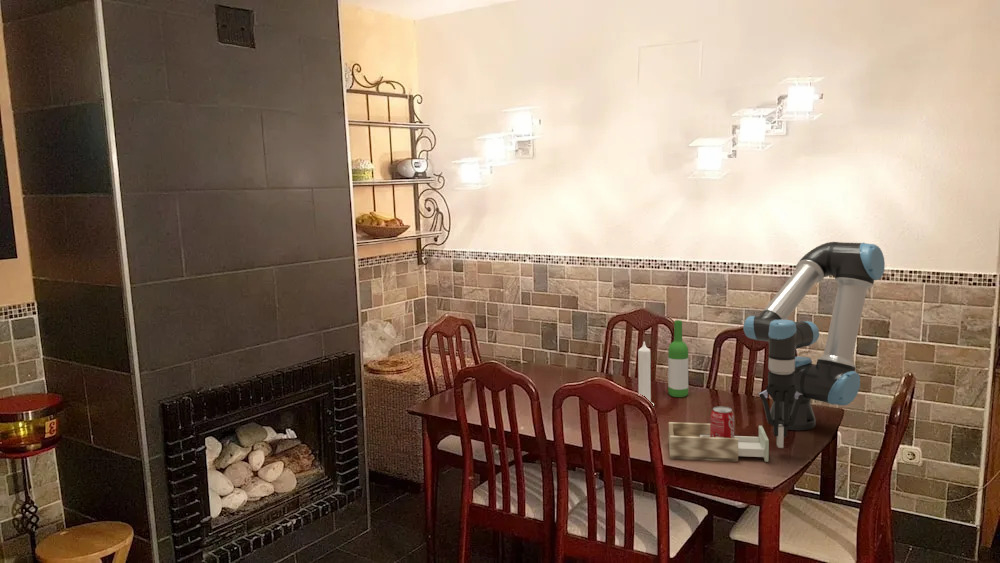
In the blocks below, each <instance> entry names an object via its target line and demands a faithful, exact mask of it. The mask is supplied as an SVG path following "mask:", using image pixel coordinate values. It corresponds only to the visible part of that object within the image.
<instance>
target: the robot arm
mask: <svg viewBox="0 0 1000 563" xmlns="http://www.w3.org/2000/svg"><path fill="white" fill-rule="evenodd" d="M884 256H885V255H884V254H883V251H882V249H881V248H880V247H879V246H878V245H877V244H873V243H865V242H843V241H842V242H839V241H830V242H825V243H823V244H820V245H817V246H816V247H815V248H812V249H811V250H809V251H808V252H807V253H806V254H804V256H802V258H800V259H799V261H798V262H797V264H796V265H795V270H794V272H793V273H792V274H791V276H790V277H789V278H788V279H787V281H785V283H784V284H783V285H782V287H781V288H780V289H779V290H778V292H777V293H776V294H775V295H774V296H773V297H772V299H771V300H770V301H769V303H768V304H767V305H766V306H765V308H764V309H763V310H762V311H761V313H759V315H750V316H747V317H746V319H745V320H744V322H743V332H744V335H745V336H746V337H747V338H748V339H751V340H755V341H761V342H768V368H767V369H768V372H767V374H768V375H767V386H766V387H765V390H763V391H759V392H758V396H759V397H760V399H761V402H762V405H763V409H764V413H765V418H766V421H767V423H768V424H769V425H771V426H773V428H772V432H773V436H774V437H776V447H777V448H779V449H784V438H785V437H788V431H789V430H790V431H808V430H813V429H814V428H815V427H816V423H817V422H816V417H815V413H814V410H813V407H812V404H811V400H814V401H817V402H823V403H826V404H830V405H837V406H843V407H844V406H848V405H849V404H851V403H852V402H854V400H855V399H856V398H857V395H858V393H859V391H860V387H861V376H860V374H859V373H858V372H856V368H857V366H856V365H855V364H854V362H853V356H854V352H855V347H856V344H857V343H856V342H857V338H858V333H859V328H860V325H861V324H860V323H861V319H862V315H863V308H864V304H865V300H866V295H867V291H868V290H869V289H871V288H873V287H874V283H875V281H877V280H881V279H882V277H883V275H884V272H885V267H886V266H885V265H886V264H885V257H884ZM831 276H833V277H834V281H835V282H836V283H837V285H838V286H837V291H836V294H835V295H836V296H835V299H834V304H833V309H832V313H831V318H830V323H829V328H828V332H827V337H826V342H825V345H824V346H825V347H824V352H823V355H821V356H819V357H818V358H817V361H816V364H814V363H813V361H812V360H813V359H812V358H810V357H809V356H808V357H807V356H796V349H801V348H805V347H809V346H811V345H813V344H815V343H816V342H818V340H819V337H820V330H819V328H818V326H817V325H816V324H815V323H814V322H813V321H810V320H809V321H808V320H805V321H804V320H802V321H793V320H790V319H788V318H789V317H790V316H791V315H792V313H793V312H794V311H795V309H796V308H797V307H798V306H799V305H800V304H801V302H802V300H803V299H804V298H805V297H806V296H807V294H808V293H809V292H810V291H811V289H812V288H813V287H814V286H815V284H817V283H819V282H821V281H822V280H823V279H824V278H826V277H831ZM768 395H769V396H770V397H771V399H772V401H773V403H772V405H771V407H770V406H769V403H768V400H767V399H768V398H769V397H768Z"/></svg>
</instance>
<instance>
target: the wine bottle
mask: <svg viewBox="0 0 1000 563" xmlns="http://www.w3.org/2000/svg"><path fill="white" fill-rule="evenodd" d="M673 322H674V323H673V324H674V328H673V329H674V331H673V332H674V333H673V335H674V337H673V341H672V342H671V343H670V344H669V345H668V350H667V352H668V353H667V354H668V357H667V362H668V363H667V366H668V368H667V371H668V372H667V382H668V383H667V385H668V386H667V388H668V390H667V391H668V395H670V396H671V397H673V398H684V397H687V396H688V394H689V349H688V348H689V347H688V345H687V343H685V342H684V341H683V320H680V319H677V320H675V321H673Z"/></svg>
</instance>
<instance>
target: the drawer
mask: <svg viewBox="0 0 1000 563" xmlns="http://www.w3.org/2000/svg"><path fill="white" fill-rule="evenodd" d="M700 437H710V435H700ZM734 438H738V457H754V458H755V457H756V458H763V460H764V462H767V463H768V462H769V452H770V450H769V446H770V443H769V442H770V441H769V437H768V436H767V433H766V431H765V429H764V427H763V425H758V436H748V435H747V436H746V435H745V436H744V435H734Z"/></svg>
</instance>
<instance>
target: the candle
mask: <svg viewBox="0 0 1000 563" xmlns="http://www.w3.org/2000/svg"><path fill="white" fill-rule="evenodd" d="M646 344H647V343H646V341H643V342H642V346H641V347H640V348H639V349H637V356H638V357H637V358H638V360H637V361H638V362H637V363H638V364H637V368H638V371H637V374H638V377H637V378H638V380H637V383H638V390H637V391H638V393H639V394H641V395H643V396H645V397H646V398H647V399H648V400H649V401H650V402H651V403H652V404H653V406H654V407H655V403H654V402H652V400H651V399H652V398H651V392H652V391H651V389H652V388H651V349H650V348H649V347H647V345H646ZM639 394H638V395H639Z"/></svg>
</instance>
